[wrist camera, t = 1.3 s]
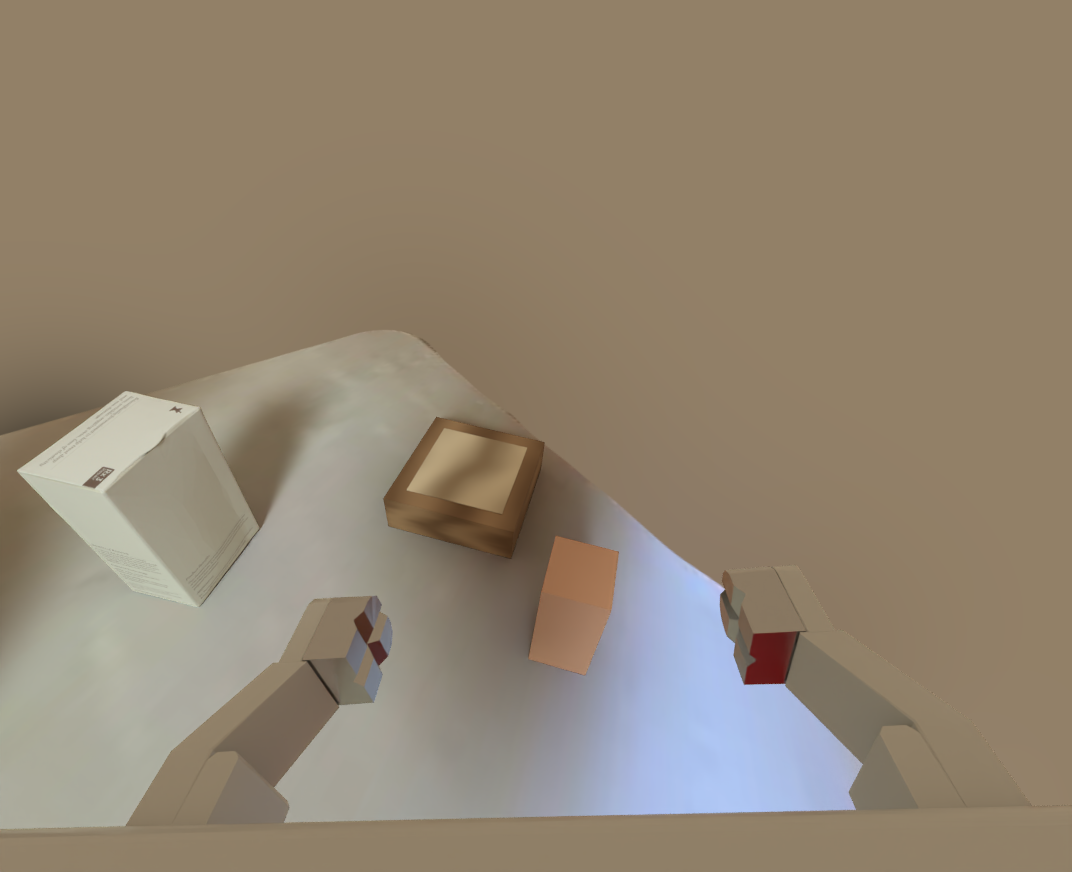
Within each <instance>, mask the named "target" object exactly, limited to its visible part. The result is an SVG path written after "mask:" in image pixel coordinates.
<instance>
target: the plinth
mask: <svg viewBox="0 0 1072 872" xmlns="http://www.w3.org/2000/svg"><path fill="white" fill-rule="evenodd" d="M543 450H544V442H541V441H537V440H533V439H528V438H524V437H520V436H515V435H511V434H507V433H503V432H498V431H494V430H490V429H486V428H481V427H477V426H473V425H468V424H464V423H460V422H456V421H451V420H447V419H443V418H439V417H436V418H435V420H434V421H433V423H432V425H431V426H430V428H429V429H428V431H427V432H426V434H425V435H424V437H423V438H422V440H421V441H420V443H419V445H418V446H417V448H416V449H415V451H414V452H413V454H412V455H411V457H410V458H409V460H408V461H407V463H406V465H405V466H404V468H403V469H402V471H401V472H400V474H399V475H398V477H397V478H396V480H395V481H394V483H393V485H392V486H391V488H390V489H389V491H388V492H387V494H386V495H385V497H384V498H383V499H384V504H385V510H386V515H387V520H388V526H390V527H393V528H397V529H401V530H405V531H409V532H412V533H416V534H420V535H424V536H427V537H431V538H435V539H439V540H442V541H446V542H450V543H454V544H458V545H461V546H465V547H469V548H473V549H476V550H480V551H484V552H488V553H491V554H495V555H499V556H503V557H507V558H510V559H511V557H512V554H513V551H514V548H515V545H516V542H517V539H518V536H519V533H520V530H521V527H522V524H523V521H524V518H525V515H526V512H527V509H528V506H529V503H530V500H531V497H532V494H533V491H534V488H535V485H536V482H537V479H538V476H539V473H540V470H541V464H542V457H543Z"/></svg>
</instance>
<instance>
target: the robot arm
mask: <svg viewBox="0 0 1072 872" xmlns="http://www.w3.org/2000/svg"><path fill="white" fill-rule="evenodd" d="M722 582H723V585H724V588H725V590H724V591H723V592H722V593H721V594H720V611H721V618H722V622H723V626H724V629H725V632H726V635H727V637H728V638H729V639H731V640H732V641H733V642H734V643H735V648H734V658H735V661H736V664H737V667H738V669H739V672H740V675H741V678H742V681H743V683H744V685H752V684H786V685H785V686H786V687H787V688H788V689H789V690H790V691H791V692H792V693H793V694H794V695H795V696H796V697H797V698H798V699H799V700H800V701H801V702H802V703H803V704H804V705H805V706H806V707H807V708H808V709H809V710H810V711H811V712H812V713H813V714H814V715H815V716H816V717H817V718H818V719H819V720H820V721H821V722H822V723H823V724H824V725H825V726H826V727H827V728H828V729H829V730H830V731H831V732H832V734H833V735H834V736H835V737H836V738H837V739H838V740H839V741H840V742H841V743H842V744H843V745H844V746H845V747H846V748H847V749H848V750H849V751H850V752H851V753H852V754H853V755H854V756H855V757H856V758H857V759H858V760H859V761H860V762H861V763H862V764H863V765H862V767H861V769H860V771H859V773H858V775H857V777H856V779H855V780H854V782H853V784H852V786H851V788H850V790H849V794H850V797H851V799H852V801H853V804H854V806H855V808H856V810H828V811H783V812H738V813H693V814H648V815H603V816H558V817H513V818H468V819H424V820H380V821H336V822H292V823H284V821H285V818H286V815H287V813H288V810H289V804H288V801H287V800H286V799H285V798H284V797H283V796H282V795H281V794H280V793H279V792H278V791H277V790H276V789H275V788H274V787H275V786H276V784H277V783H278V782H279V781H280V779H281V778H282V777H283V776H284V774H285V773H286V772H287V771H288V770H289V768H290V767H291V766H292V765H293V763H294V762H295V761H296V760H297V759H298V757H299V756H300V755H301V754H302V752H303V751H304V750H305V749H306V747H307V746H308V745H309V744H310V743H311V741H312V740H313V739H314V738H315V736H316V735H317V734H318V733H319V732H320V730H321V729H322V728H323V727H324V725H325V724H326V723H327V722H328V720H329V719H330V718H331V717H332V716H333V714H334V713H335V712H336V711H337V709H338V708H339V706H338V705H348V704H361V703H374V700H375V697H376V694H377V690H378V687H379V684H380V681H381V678H382V672H381V669H380V667H379V665H380V664H381V663H382V662H383V661H384V660H385V659H386V658H387V657H388V655H389V651H390V648H391V644H392V627H391V622H390V620H389V618H388V616H386V615H385V614H383V613H381V612H380V609H381V606H382V604H381V602H380V601H379V599H378V597H377V596H364V597H341V598H323V599H314V600H313V601H312V602H311V603H310V604H309V605H308V606H307V608H306V610H305V612H304V614H303V616H302V618H301V620H300V622H299V624H298V626H297V628H296V630H295V632H294V634H293V636H292V638H291V640H290V642H289V643H288V645H287V647H286V649H285V651H284V653H283V655H282V657H281V659H280V661H279V663H272V664H271V665H270V666H269V667H268V668H267V669H265V670H264V671H263V672H262V673H261V674H260V675H258V676H257V677H256V678H255V679H254V680H253V681H252V682H250V683H249V684H248V685H247V686H246V687H245V688H244V689H242V690H241V691H240V692H239V693H238V694H237V695H235V696H234V697H233V698H232V699H231V700H230V701H229V702H227V703H226V704H225V705H224V706H223V707H222V708H220V709H219V710H218V711H217V712H216V713H215V714H214V715H212V716H211V717H210V718H209V719H208V720H207V721H206V722H204V723H203V724H202V725H201V726H200V727H199V728H197V729H196V730H195V731H194V732H193V733H192V734H191V735H189V736H188V737H187V738H186V739H185V740H184V741H182V742H181V743H180V744H179V745H178V746H177V747H176V748H174V749H173V750H172V751H171V752H170V754H169V756H168V757H167V759H166V761H165V762H164V764H163V765H162V767H161V769H160V770H159V772H158V774H157V775H156V777H155V779H154V780H153V782H152V783H151V785H150V787H149V788H148V790H147V792H146V793H145V795H144V797H143V798H142V800H141V801H140V803H139V805H138V806H137V808H136V810H135V811H134V813H133V815H132V816H131V818H130V819H129V821H128V823H127V824H126V826H117V827H74V828H32V829H0V872H1072V805H1053V806H1032V805H1031V804H1030V802H1029V801H1028V799H1027V798H1026V797H1025V795H1024V794H1023V792H1022V791H1021V790H1020V788H1019V787H1018V785H1017V784H1016V783H1015V781H1014V780H1013V778H1012V777H1011V775H1010V774H1009V773H1008V771H1007V770H1006V768H1005V767H1004V766H1003V764H1002V763H1001V761H1000V760H999V759H998V757H997V756H996V754H995V753H994V752H993V750H992V749H991V747H990V746H989V744H988V743H987V742H986V740H985V739H984V737H983V736H982V735H981V733H980V732H979V730H978V729H977V728H976V726H975V725H974V723H973V722H972V721H971V720H970V719H968V718H967V717H966V716H964V715H963V714H961V713H960V712H958V711H957V710H956V709H954V708H953V707H951V706H950V705H948V704H947V703H946V702H944V701H943V700H941V699H940V698H938V697H937V696H936V695H934V694H933V693H931V692H930V691H929V690H927V689H926V688H924V687H923V686H922V685H920V684H919V683H917V682H916V681H914V680H913V679H911V678H910V677H909V676H907V675H906V674H904V673H903V672H902V671H900V670H899V669H897V668H896V667H895V666H893V665H891V664H890V663H889V662H887V661H886V660H884V659H883V658H882V657H880V656H879V655H877V654H876V653H874V652H873V651H872V650H870V649H869V648H868V647H866V646H865V645H863V644H862V643H860V642H859V641H858V640H856V639H855V638H853V637H852V636H851V635H849V634H848V633H846V632H845V631H843V630H835V629H834V627H833V625H832V624H831V622H830V620H829V618H828V617H827V615H826V613H825V612H824V610H823V608H822V606H821V605H820V603H819V601H818V600H817V598H816V596H815V594H814V592H813V591H812V589H811V587H810V585H809V584H808V582H807V580H806V579H805V577H804V575H803V573H802V571H801V570H800V569H799V568H798V567H797V566H796V565H788V566H775V567H769V566H768V567H756V568H745V569H732V570H725V571H724V573H723V577H722Z"/></svg>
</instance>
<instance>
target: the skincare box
mask: <svg viewBox="0 0 1072 872" xmlns="http://www.w3.org/2000/svg"><path fill="white" fill-rule="evenodd" d="M17 472H18V473H19V474H20V475H21V476H22V477H23V478H24V479H25V480H26V481H27V482H28V483H29V484H30V486H31V487H32V488H33V489H34V490H35V491H36V492H37V493H38V494H39V495H40V496H41V497H42V498H43V499H44V500H45V501H46V502H47V503H48V504H49V505H50V507H51V508H52V509H53V510H54V511H55V512H56V513H57V514H58V515H59V516H61V517H62V518H63V519H64V520H65V521H66V522H67V523H68V524H69V525H70V526H71V527H72V529H73V530H74V531H75V532H76V533H77V534H78V535H79V536H80V537H81V538H82V539H83V540H84V541H85V542H86V543H87V544H88V545H89V546H90V547H91V548H92V549H93V550H94V551H95V552H96V553H97V554H98V555H99V556H100V558H101V559H102V560H103V561H104V562H105V563H106V564H107V565H108V566H109V567H110V568H111V569H112V570H113V571H114V572H115V573H116V574H117V575H118V576H119V577H120V578H121V579H122V580H123V581H124V582H125V583H126V584H127V585H128V586H129V587H130V588H131V589H132V590H133V591H135V592H139V593H143V594H147V595H151V596H155V597H159V598H163V599H167V600H171V601H175V602H178V603H182V604H186V605H190V606H194V607H199V606H200V605H201V604H202V603H203V602H204V600H205V599H206V598H207V596H208V595H209V594H210V592H211V591H212V590H213V588H214V587H215V586H216V585H217V583H218V582H219V581H220V579H221V578H222V577H223V575H224V574H225V573H226V571H227V570H228V569H229V567H230V566H231V565H232V564H233V562H234V561H235V560H236V558H237V557H238V556H239V554H240V553H241V552H242V551H243V549H244V548H245V546H246V545H247V544H248V542H249V541H250V540H251V538H252V537H253V536H254V535H255V533H256V532H257V531H258V530H259V526H258V524H257V522H256V520H255V518H254V516H253V514H252V512H251V510H250V508H249V506H248V504H247V502H246V500H245V498H244V496H243V494H242V492H241V490H240V488H239V486H238V484H237V482H236V480H235V478H234V476H233V474H232V471H231V470H230V468H229V465H228V463H227V461H226V459H225V457H224V455H223V453H222V451H221V449H220V447H219V445H218V443H217V441H216V439H215V437H214V435H213V433H212V431H211V429H210V427H209V425H208V423H207V421H206V419H205V417H204V415H203V412H202V410H201V407H199V406H193V405H188V404H183V403H178V402H174V401H169V400H164V399H159V398H155V397H150V396H146V395H142V394H138V393H134V392H129V391H125V392H123V393H122V394H120V395H119V396H118V397H116V398H115V399H114V400H112V401H111V402H110V403H108V404H107V405H106V406H104V407H103V408H102V409H100V410H99V411H98V412H96V413H95V414H94V415H92V416H91V417H90V418H88V419H87V420H86V421H84V422H83V423H82V424H80V425H79V426H77V427H76V428H75V429H73V430H72V431H71V432H69V433H68V434H67V435H65V436H64V437H62V438H61V439H60V440H58V441H57V442H56V443H54V444H53V445H52V446H50V447H49V448H47V449H46V450H45V451H43V452H42V453H41V454H39V455H38V456H36V457H35V458H34V459H32V460H31V461H29V462H28V463H27V464H25V465H24V466H22V467H21V468H19V469H18V470H17Z"/></svg>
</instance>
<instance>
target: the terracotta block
mask: <svg viewBox="0 0 1072 872" xmlns="http://www.w3.org/2000/svg"><path fill="white" fill-rule="evenodd" d="M618 554H619V552H618V551H614V550H610V549H606V548H602V547H598V546H594V545H590V544H586V543H582V542H579V541H575V540H571V539H567V538H563V537H559V536H556V537H555V541H554V544H553V548H552V552H551V556H550V560H549V564H548V568H547V572H546V575H545V579H544V583H543V587H542V591H541V596H540V601H539V606H538V611H537V617H536V622H535V627H534V632H533V637H532V643H531V648H530V653H529V658H528V659H530V660H533V661H537V662H540V663H544V664H547V665H551V666H554V667H558V668H561V669H565V670H568V671H571V672H575V673H578V674H582V675H586V672H587V670H588V667H589V665H590V662H591V660H592V657H593V655H594V652H595V650H596V647H597V645H598V642H599V640H600V637H601V635H602V633H603V630H604V628H605V625H606V623H607V620H608V618H609V615H610V613H611V609H612V601H613V594H614V586H615V578H616V570H617V562H618Z"/></svg>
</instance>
